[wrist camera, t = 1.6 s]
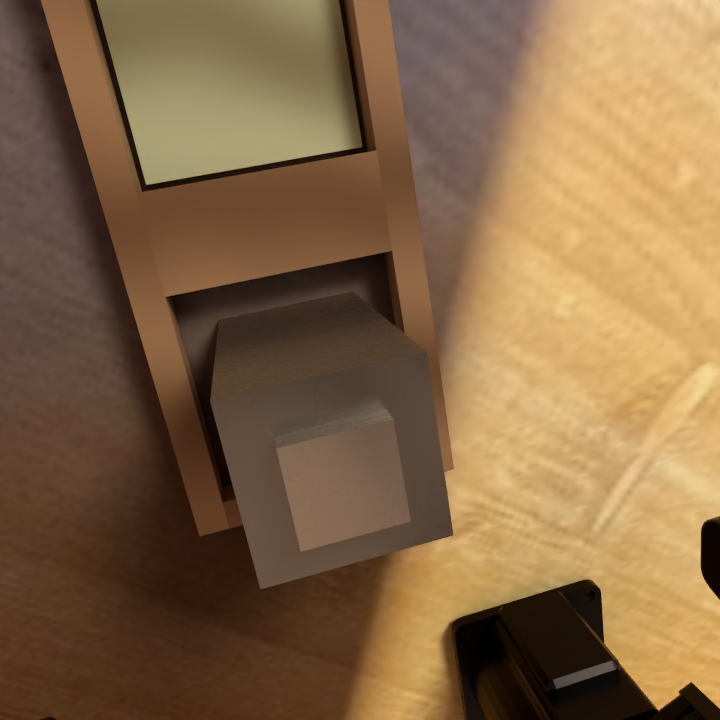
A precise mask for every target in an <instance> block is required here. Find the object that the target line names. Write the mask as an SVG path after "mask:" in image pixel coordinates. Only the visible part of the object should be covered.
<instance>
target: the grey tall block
mask: <svg viewBox="0 0 720 720" xmlns="http://www.w3.org/2000/svg"><path fill="white" fill-rule="evenodd" d="M210 403H211V406H212V410H213V414H214V418H215V421H216V425H217V429H218V433H219V436H220V440H221V444H222V447H223V451H224V455H225V459H226V462H227V466H228V470H229V474H230V477H231V481H232V485H233V489H234V492H235V496H236V500H237V503H238V507H239V511H240V515H241V518H242V522H243V526H244V530H245V533H246V537H247V541H248V545H249V548H250V552H251V556H252V559H253V563H254V567H255V571H256V574H257V578H258V582H259V586H260V589H264V588H267V587H271V586H274V585H278V584H282V583H285V582H289V581H292V580H296V579H299V578H303V577H306V576H310V575H314V574H317V573H321V572H324V571H328V570H331V569H335V568H338V567H342V566H346V565H349V564H353V563H356V562H360V561H363V560H367V559H370V558H374V557H378V556H381V555H385V554H388V553H392V552H395V551H399V550H402V549H406V548H410V547H413V546H417V545H420V544H424V543H427V542H431V541H434V540H438V539H442V538H445V537H449V536H452V535H453V530H452V523H451V516H450V509H449V502H448V495H447V489H446V482H445V475H444V468H443V461H442V454H441V447H440V440H439V433H438V426H437V419H436V413H435V406H434V399H433V392H432V385H431V378H430V371H429V364H428V357H427V351H426V350H424V349H423V348H422V347H421V346H419V345H418V344H417V343H416V342H414V341H413V340H412V339H411V338H409V337H408V336H407V335H406V334H405V333H403V332H402V331H401V330H400V329H398V328H397V327H396V326H395V325H393V324H392V323H391V322H390V321H388V320H387V319H386V318H385V317H383V316H382V315H381V314H380V313H378V312H377V311H376V310H375V309H374V308H372V307H371V306H370V305H369V304H367V303H366V302H365V301H364V300H362V299H361V298H360V297H359V296H357V295H356V294H355V293H354V292H349V293H345V294H340V295H335V296H330V297H326V298H321V299H316V300H312V301H307V302H302V303H297V304H293V305H288V306H283V307H279V308H274V309H269V310H264V311H260V312H255V313H250V314H246V315H241V316H236V317H231V318H227V319H222V320H219V323H218V332H217V342H216V351H215V361H214V370H213V379H212V389H211V398H210Z"/></svg>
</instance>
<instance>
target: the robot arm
mask: <svg viewBox="0 0 720 720" xmlns="http://www.w3.org/2000/svg"><path fill="white" fill-rule="evenodd" d="M701 571H702V575H703V577H704V579H705V581H706V583H707V584H708V586H709V587H710V588H711V590H712V591H713V592H714V593H715V595H716V596H717V597H718V598H719V599H720V516H719V517H716V518H712V519H709V520H707V521H705V522H704V524H703V526H702V528H701ZM588 591H589V592H588ZM587 592H588V593H587ZM586 593H587V594H586ZM585 594H586V595H585ZM465 629H467V631H465V632H462V631H463V630H465ZM451 632H452V638H453V645H454V651H455V658H456V664H457V671H458V677H459V684H460V690H461V696H462V703H463V709H464V716H465V720H720V709H719V708H718V707H717V706H716V705H715V704H714V703H713V702H712V701H711V700H710V699H709V698H708V697H706V696H705V695H704V694H703V693H702V692H701V691H700V690H699V689H698V688H697V687H696V686H695V685H694V684H693V683H692V682H691V683H689V684H688V685H687V686H685V687H684V688H683V689H681V690H680V691H679V693H680V695H679V696H677V697H676V698H675V699H673V700H672V701H671V702H669V703H668V704H667V705H665V706H664V707H663V708H661V709H660V710H659V711H658V710H657V708H656V707H655V706H654V705H653V704H652V702H651V701H650V700H649V699H648V697H647V696H646V695H645V694H644V693H643V691H642V690H641V689H640V688H639V687H638V685H637V684H636V683H635V682H634V681H633V679H632V678H631V677H630V676H629V674H628V673H627V672H626V671H625V670H624V668H623V667H622V666H621V665H620V664H619V662H618V660H617V659H616V657H615V656H614V655H613V654H612V653H611V651H610V650H609V649H608V648H607V647H606V645H605V644H604V635H603V618H602V601H601V591H600V589H599V587H598V586H597V585H596V584H595V583H594V582H593V581H592V580H582V581H579V582H576V583H573V584H569V585H566V586H563V587H559V588H556V589H553V590H550V591H546V592H543V593H540V594H536V595H533V596H530V597H527V598H523V599H520V600H517V601H513V602H510V603H507V604H504V605H500V606H497V607H494V608H490V609H487V610H484V611H481V612H477V613H474V614H471V615H467V616H464V617H461V618H459V619H457V620H456V621H455V622H454V623H453V625H452V628H451ZM40 720H56V719H55V718H52V717H47V718H43V719H40Z"/></svg>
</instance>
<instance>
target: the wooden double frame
mask: <svg viewBox="0 0 720 720" xmlns="http://www.w3.org/2000/svg"><path fill="white" fill-rule="evenodd" d="M343 1H344V8H345V14H346V20H347V26H348V33H349V39H350V45H351V51H352V58H353V64H354V70H355V76H356V83H357V89H358V95H359V101H360V108H361V114H362V120H363V126H364V133H365V139H366V145H367V151H368V152H365V153H359V154H354V155H348V156H342V157H337V158H331V159H325V160H320V161H314V162H309V163H303V164H297V165H292V166H286V167H280V168H275V169H269V170H263V171H258V172H252V173H246V174H241V175H235V176H229V177H224V178H218V179H213V180H207V181H201V182H196V183H190V184H184V185H179V186H173V187H167V188H162V189H156V190H150V191H145V192H142V189H141V185H140V182H139V178H138V174H137V171H136V167H135V163H134V160H133V156H132V152H131V149H130V145H129V142H128V138H127V134H126V131H125V127H124V123H123V120H122V116H121V112H120V109H119V105H118V101H117V98H116V94H115V90H114V87H113V83H112V79H111V76H110V72H109V69H108V65H107V61H106V58H105V54H104V50H103V47H102V43H101V39H100V36H99V32H98V28H97V25H96V21H95V17H94V14H93V10H92V6H91V3H90V0H41V3H42V6H43V9H44V13H45V16H46V19H47V23H48V26H49V30H50V33H51V36H52V40H53V43H54V46H55V50H56V53H57V57H58V60H59V63H60V67H61V70H62V73H63V77H64V80H65V84H66V87H67V90H68V94H69V97H70V100H71V104H72V107H73V111H74V114H75V117H76V121H77V124H78V128H79V131H80V134H81V138H82V141H83V144H84V148H85V151H86V155H87V158H88V161H89V165H90V168H91V171H92V175H93V178H94V182H95V185H96V188H97V192H98V195H99V198H100V202H101V205H102V209H103V212H104V215H105V219H106V222H107V225H108V229H109V232H110V236H111V239H112V242H113V246H114V249H115V253H116V256H117V259H118V263H119V266H120V269H121V273H122V276H123V280H124V283H125V286H126V290H127V293H128V296H129V300H130V303H131V307H132V310H133V313H134V317H135V320H136V323H137V327H138V330H139V334H140V337H141V340H142V344H143V347H144V350H145V354H146V357H147V361H148V364H149V367H150V371H151V374H152V378H153V381H154V384H155V388H156V391H157V394H158V398H159V401H160V405H161V408H162V411H163V415H164V418H165V421H166V425H167V428H168V432H169V435H170V438H171V442H172V445H173V448H174V452H175V455H176V459H177V462H178V465H179V469H180V472H181V475H182V479H183V482H184V486H185V489H186V492H187V496H188V499H189V503H190V506H191V509H192V513H193V516H194V519H195V523H196V526H197V530H198V533H199V536H203V535H207V534H211V533H214V532H218V531H222V530H226V529H229V528H233V527H237V526H241V525H243V522H242V518H241V515H240V511H239V507H238V503H237V500H236V496H235V492H234V489H233V485H232V484H228V485H224V486H223V485H222V481H221V477H220V474H219V470H218V466H217V463H216V459H215V455H214V452H213V448H212V444H211V441H210V437H209V434H208V430H207V426H206V423H205V419H204V415H203V412H202V408H201V404H200V401H199V397H198V393H197V390H196V386H195V382H194V379H193V375H192V371H191V368H190V364H189V361H188V357H187V353H186V350H185V346H184V342H183V339H182V335H181V331H180V328H179V324H178V320H177V317H176V313H175V309H174V306H173V302H172V298H171V296H173V295H177V294H182V293H187V292H192V291H197V290H202V289H207V288H212V287H217V286H222V285H227V284H231V283H236V282H241V281H246V280H251V279H256V278H261V277H266V276H271V275H276V274H281V273H285V272H290V271H295V270H300V269H305V268H310V267H315V266H320V265H325V264H330V263H335V262H339V261H344V260H349V259H354V258H359V257H364V256H369V255H374V254H379V253H384V258H385V264H386V270H387V276H388V283H389V289H390V295H391V302H392V308H393V314H394V320H395V326H396V327H397V328H398V329H400V330H401V331H402V332H403V333H405V334H406V335H407V336H408V337H409V338H411V339H412V340H413V341H414V342H416V343H417V344H418V345H419V346H421V347H422V348H423V349H424V350H426V351H427V357H428V364H429V371H430V378H431V385H432V392H433V399H434V406H435V413H436V419H437V426H438V433H439V440H440V447H441V454H442V461H443V468H444V472H445V471H449V470H452V469H454V467H453V460H452V453H451V445H450V438H449V431H448V424H447V417H446V410H445V402H444V395H443V388H442V381H441V374H440V367H439V359H438V352H437V345H436V338H435V331H434V324H433V316H432V309H431V302H430V295H429V288H428V281H427V273H426V266H425V259H424V252H423V245H422V238H421V230H420V223H419V216H418V209H417V202H416V195H415V188H414V180H413V173H412V166H411V159H410V152H409V145H408V137H407V130H406V123H405V116H404V109H403V102H402V94H401V87H400V80H399V73H398V66H397V59H396V51H395V44H394V37H393V30H392V23H391V16H390V8H389V1H388V0H343ZM96 2H97V5H98V9H99V13H100V16H101V20H102V24H103V27H104V31H105V35H106V38H107V42H108V46H109V50H110V53H111V57H112V61H113V64H114V68H115V72H116V75H117V79H118V83H119V86H120V90H121V94H122V97H123V101H124V105H125V109H126V112H127V116H128V120H129V123H130V127H131V131H132V134H133V138H134V142H135V145H136V149H137V153H138V156H139V160H140V164H141V168H142V171H143V175H144V179H145V182H146V185H151V184H156V183H162V182H168V181H173V180H179V179H185V178H190V177H196V176H202V175H207V174H213V173H219V172H225V171H230V170H236V169H242V168H247V167H253V166H259V165H264V164H270V163H276V162H282V161H287V160H293V159H299V158H304V157H310V156H316V155H321V154H327V153H333V152H338V151H344V150H350V149H356V148H361V147H363V146H362V140H361V134H360V128H359V122H358V115H357V109H356V103H355V97H354V91H353V85H352V78H351V72H350V66H349V60H348V54H347V47H346V41H345V35H344V29H343V23H342V17H341V10H340V4H339V0H96Z"/></svg>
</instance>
